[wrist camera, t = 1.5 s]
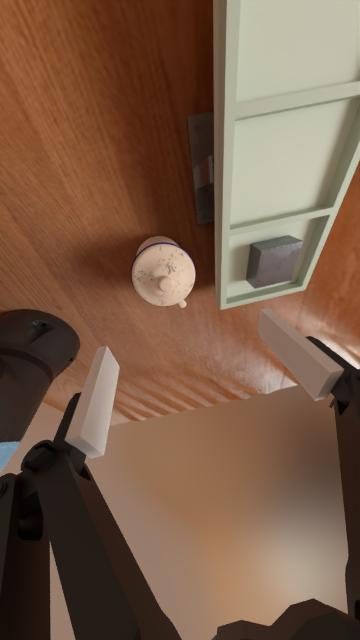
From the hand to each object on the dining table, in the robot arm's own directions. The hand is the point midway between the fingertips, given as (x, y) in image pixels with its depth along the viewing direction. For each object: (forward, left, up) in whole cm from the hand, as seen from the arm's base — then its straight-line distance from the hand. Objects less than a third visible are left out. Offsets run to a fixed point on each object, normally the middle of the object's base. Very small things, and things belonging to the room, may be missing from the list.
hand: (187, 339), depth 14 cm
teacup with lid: (0, 0, -21) cm, 21 cm away
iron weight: (+16, 0, -14) cm, 21 cm away
